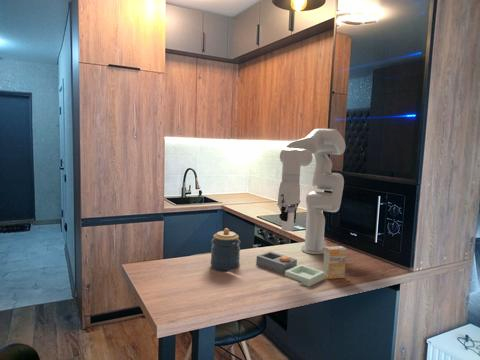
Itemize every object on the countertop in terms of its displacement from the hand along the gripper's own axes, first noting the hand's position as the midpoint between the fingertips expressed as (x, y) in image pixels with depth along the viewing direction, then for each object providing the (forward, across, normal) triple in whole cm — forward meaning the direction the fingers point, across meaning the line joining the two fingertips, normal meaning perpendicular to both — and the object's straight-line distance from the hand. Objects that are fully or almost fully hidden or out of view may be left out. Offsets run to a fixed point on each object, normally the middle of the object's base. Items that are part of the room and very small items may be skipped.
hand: (288, 219), depth 156 cm
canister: (+24, +17, -21) cm, 36 cm away
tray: (+23, 0, +10) cm, 25 cm away
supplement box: (+24, -12, +17) cm, 32 cm away
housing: (+23, 0, -5) cm, 24 cm away
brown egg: (+22, 0, 0) cm, 22 cm away
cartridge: (+4, 0, 0) cm, 4 cm away
